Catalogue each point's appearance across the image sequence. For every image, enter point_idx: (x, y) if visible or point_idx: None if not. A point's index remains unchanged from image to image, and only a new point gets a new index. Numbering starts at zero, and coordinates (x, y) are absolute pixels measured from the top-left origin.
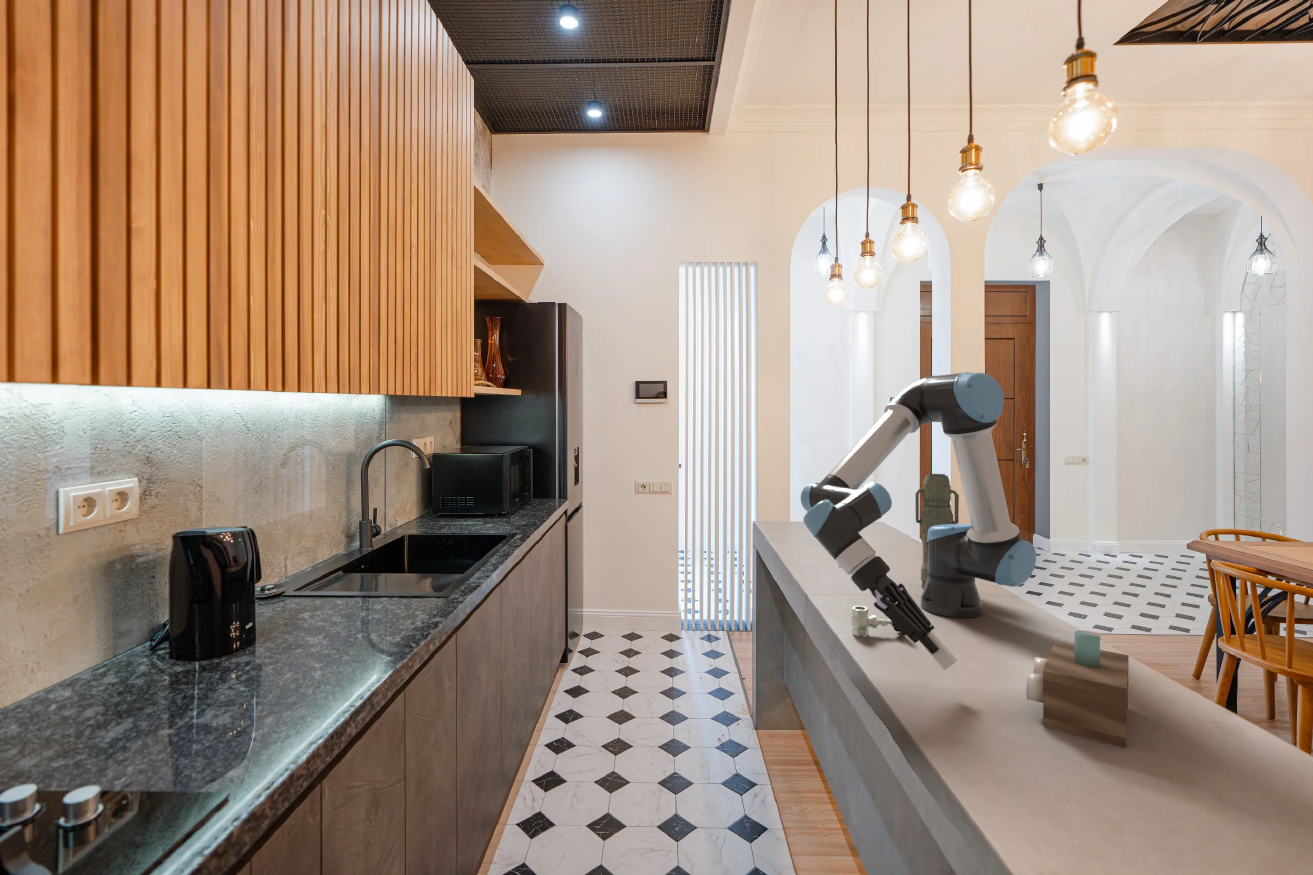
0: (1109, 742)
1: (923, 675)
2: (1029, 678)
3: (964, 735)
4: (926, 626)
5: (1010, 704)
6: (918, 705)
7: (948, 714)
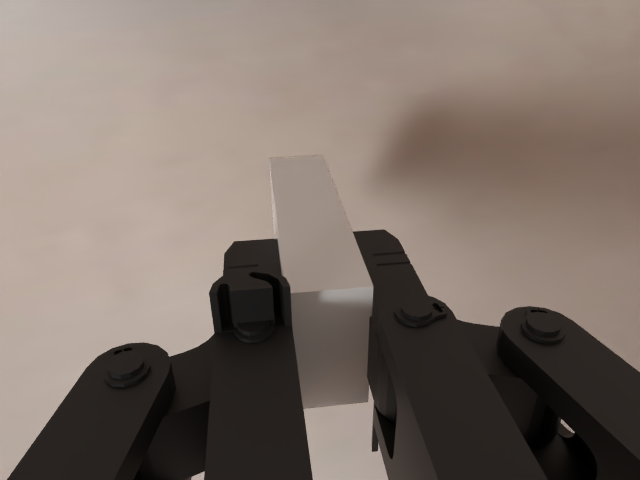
0: None
1: None
2: None
3: (628, 105)
4: (294, 345)
5: (246, 32)
6: None
7: (517, 193)
